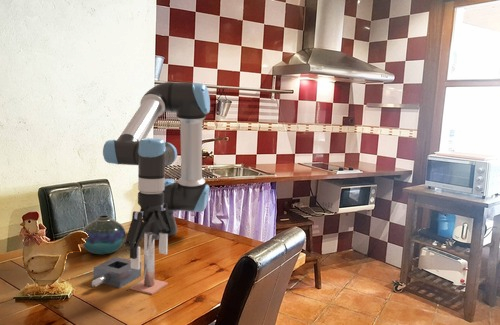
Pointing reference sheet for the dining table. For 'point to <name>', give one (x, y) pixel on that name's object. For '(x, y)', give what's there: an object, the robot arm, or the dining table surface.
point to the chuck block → (115, 273)
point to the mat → (149, 290)
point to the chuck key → (149, 257)
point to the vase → (104, 235)
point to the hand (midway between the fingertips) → (149, 260)
